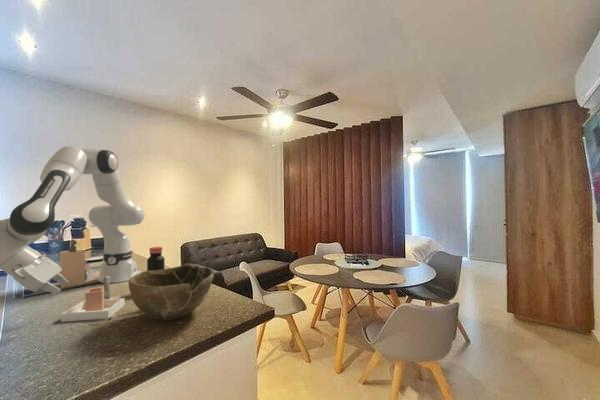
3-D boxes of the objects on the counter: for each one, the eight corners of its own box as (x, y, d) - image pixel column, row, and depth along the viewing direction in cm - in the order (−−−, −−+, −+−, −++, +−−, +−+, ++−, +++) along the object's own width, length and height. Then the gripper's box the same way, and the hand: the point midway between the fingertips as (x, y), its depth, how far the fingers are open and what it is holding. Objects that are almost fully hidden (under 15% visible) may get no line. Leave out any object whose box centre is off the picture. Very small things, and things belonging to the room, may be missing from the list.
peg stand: (94, 301, 109) (94, 275, 109) (121, 297, 113) (121, 272, 113) (90, 309, 101) (90, 281, 101) (118, 304, 105) (118, 278, 105)
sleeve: (88, 311, 96) (88, 289, 96) (104, 309, 99) (104, 287, 99) (85, 316, 92) (85, 292, 92) (102, 313, 95) (102, 290, 95)
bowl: (230, 310, 99) (230, 269, 99) (161, 343, 76) (161, 290, 76) (183, 297, 113) (183, 261, 113) (112, 322, 90) (112, 277, 90)
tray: (83, 310, 100) (83, 300, 100) (124, 307, 103) (124, 298, 103) (60, 324, 88) (60, 314, 88) (108, 321, 91) (108, 310, 91)
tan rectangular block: (59, 284, 132) (59, 239, 133) (82, 280, 139) (82, 238, 139) (62, 290, 124) (63, 242, 124) (86, 285, 130) (86, 240, 130)
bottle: (167, 290, 122) (167, 246, 123) (158, 295, 116) (158, 249, 116) (153, 289, 123) (153, 246, 123) (143, 295, 116) (143, 248, 117)
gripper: (19, 261, 79) (62, 289, 83) (43, 250, 96) (78, 274, 101) (-3, 278, 76) (43, 306, 81) (26, 264, 94) (62, 287, 99)
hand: (62, 288), depth 91 cm, fingers open, 8 cm apart
